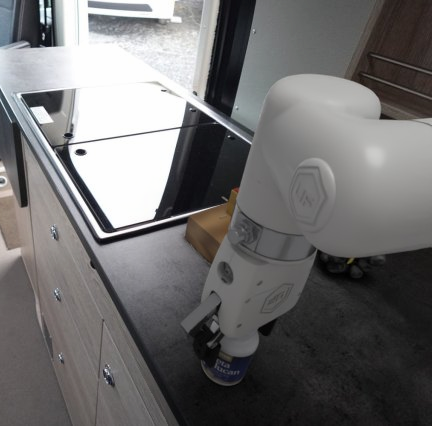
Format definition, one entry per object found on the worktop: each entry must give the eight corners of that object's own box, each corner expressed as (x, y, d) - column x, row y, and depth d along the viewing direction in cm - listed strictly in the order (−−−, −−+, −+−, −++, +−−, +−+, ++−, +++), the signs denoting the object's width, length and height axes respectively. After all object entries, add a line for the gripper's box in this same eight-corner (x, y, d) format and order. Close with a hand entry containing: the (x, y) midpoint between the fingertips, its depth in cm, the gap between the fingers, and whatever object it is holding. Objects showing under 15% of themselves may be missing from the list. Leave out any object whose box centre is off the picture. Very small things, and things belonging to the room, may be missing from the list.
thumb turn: (247, 204, 66) (254, 181, 64) (254, 209, 65) (261, 186, 62) (225, 211, 64) (231, 188, 62) (233, 217, 63) (239, 194, 60)
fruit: (337, 185, 65) (354, 236, 53) (381, 206, 64) (408, 263, 53) (304, 219, 70) (313, 273, 58) (344, 240, 70) (361, 298, 58)
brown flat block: (291, 255, 63) (301, 232, 60) (231, 282, 58) (239, 258, 55) (234, 212, 73) (240, 190, 70) (178, 232, 67) (182, 209, 64)
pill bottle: (199, 381, 45) (214, 332, 39) (201, 343, 49) (215, 294, 43) (245, 392, 44) (268, 344, 38) (243, 352, 48) (264, 303, 42)
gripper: (231, 287, 27) (192, 405, 37) (374, 220, 34) (308, 335, 44) (170, 228, 32) (151, 346, 43) (305, 180, 39) (260, 292, 50)
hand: (231, 340), depth 43 cm, fingers open, 7 cm apart
